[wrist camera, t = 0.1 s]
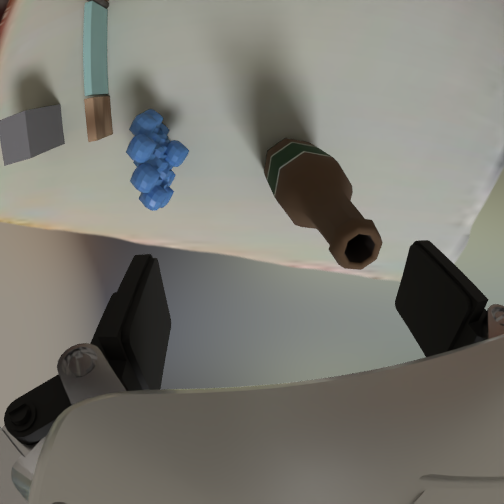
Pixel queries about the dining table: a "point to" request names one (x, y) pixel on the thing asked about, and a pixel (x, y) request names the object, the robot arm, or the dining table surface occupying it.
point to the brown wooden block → (98, 108)
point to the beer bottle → (321, 200)
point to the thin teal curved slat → (95, 49)
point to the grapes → (154, 159)
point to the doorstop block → (31, 133)
